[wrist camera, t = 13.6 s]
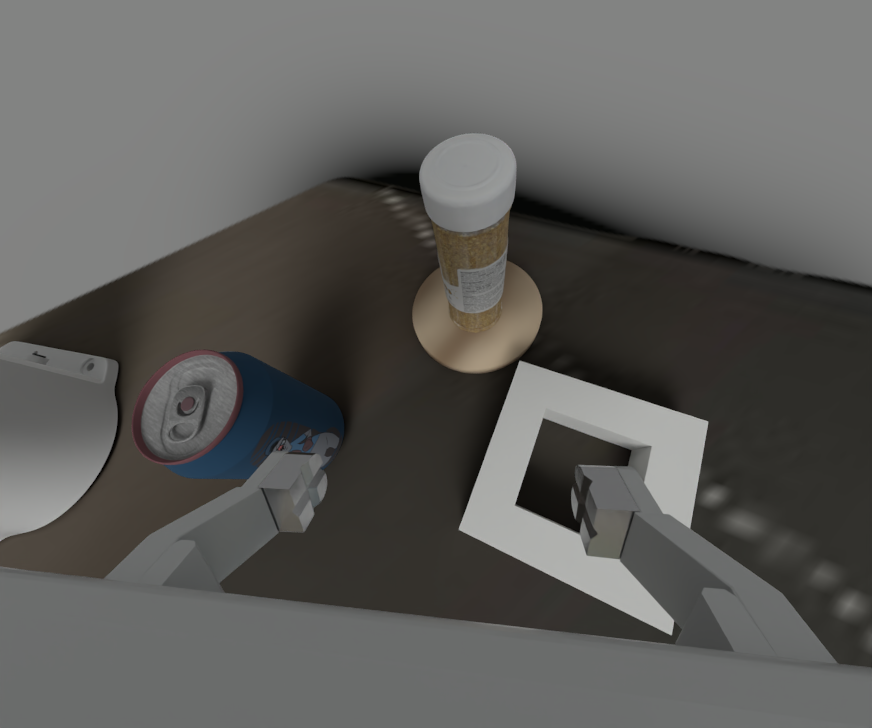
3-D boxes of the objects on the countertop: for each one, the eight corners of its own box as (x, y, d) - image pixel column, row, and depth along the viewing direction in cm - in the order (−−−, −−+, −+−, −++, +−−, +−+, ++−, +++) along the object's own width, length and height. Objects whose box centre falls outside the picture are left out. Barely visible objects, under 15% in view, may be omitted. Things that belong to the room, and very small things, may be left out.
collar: (462, 523, 22) (458, 529, 20) (516, 373, 26) (519, 360, 23) (644, 612, 19) (671, 635, 16) (680, 428, 22) (708, 421, 20)
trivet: (395, 349, 28) (391, 344, 27) (442, 252, 31) (441, 243, 30) (516, 392, 25) (517, 388, 24) (555, 280, 28) (558, 271, 27)
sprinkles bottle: (445, 293, 28) (412, 140, 15) (497, 283, 27) (506, 118, 15) (453, 339, 26) (422, 210, 14) (508, 330, 26) (528, 188, 13)
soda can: (278, 398, 28) (142, 345, 17) (352, 392, 27) (260, 331, 16) (267, 481, 26) (99, 482, 15) (348, 477, 25) (235, 474, 14)
